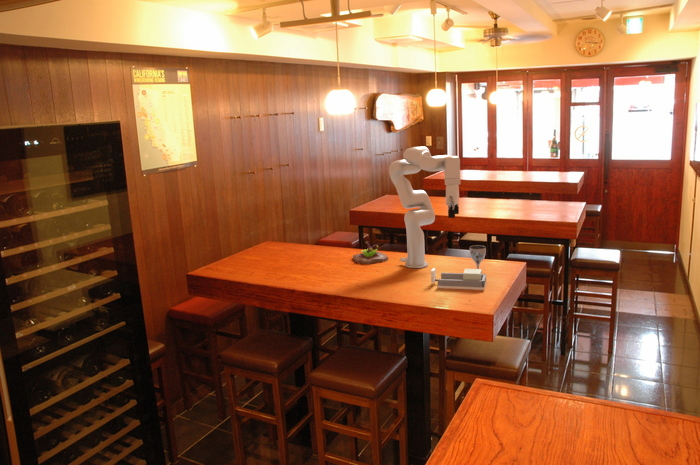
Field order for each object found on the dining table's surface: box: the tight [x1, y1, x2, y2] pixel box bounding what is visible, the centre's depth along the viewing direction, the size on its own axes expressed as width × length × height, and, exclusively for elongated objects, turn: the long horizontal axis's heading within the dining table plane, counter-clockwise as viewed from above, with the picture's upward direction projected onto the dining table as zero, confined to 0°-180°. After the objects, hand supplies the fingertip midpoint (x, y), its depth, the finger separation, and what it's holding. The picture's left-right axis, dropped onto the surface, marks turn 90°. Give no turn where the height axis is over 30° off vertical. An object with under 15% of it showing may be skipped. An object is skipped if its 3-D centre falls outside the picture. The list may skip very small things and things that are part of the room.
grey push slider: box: [430, 267, 483, 284], centre depth 278 cm, size 24×8×6 cm, turn 72°
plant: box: [352, 240, 389, 265], centre depth 334 cm, size 20×20×11 cm
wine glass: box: [469, 244, 487, 269], centre depth 290 cm, size 8×8×15 cm
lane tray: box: [437, 272, 487, 291], centre depth 277 cm, size 22×12×4 cm, turn 72°
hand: (453, 215), depth 281 cm, fingers open, 9 cm apart
